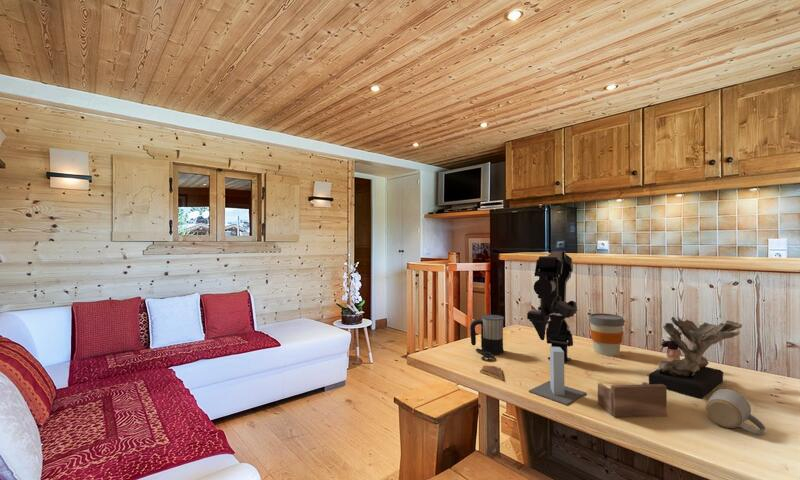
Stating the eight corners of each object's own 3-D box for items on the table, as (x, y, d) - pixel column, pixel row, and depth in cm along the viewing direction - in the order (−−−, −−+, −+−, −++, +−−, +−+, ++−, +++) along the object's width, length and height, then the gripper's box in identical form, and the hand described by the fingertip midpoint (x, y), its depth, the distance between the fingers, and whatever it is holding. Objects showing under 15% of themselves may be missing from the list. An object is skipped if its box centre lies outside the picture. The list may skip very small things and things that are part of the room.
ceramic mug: (703, 422, 93) (704, 392, 92) (712, 412, 98) (712, 384, 97) (762, 441, 84) (762, 408, 84) (768, 429, 89) (768, 398, 89)
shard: (503, 382, 121) (503, 377, 121) (479, 381, 122) (479, 375, 122) (501, 371, 131) (501, 366, 131) (479, 369, 133) (479, 364, 133)
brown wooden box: (597, 404, 103) (597, 376, 103) (646, 403, 104) (645, 375, 104) (614, 417, 95) (614, 387, 95) (666, 416, 96) (666, 386, 96)
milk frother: (499, 348, 158) (498, 314, 158) (514, 360, 142) (514, 322, 142) (467, 349, 156) (467, 315, 156) (479, 361, 140) (479, 323, 140)
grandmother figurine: (683, 365, 134) (683, 331, 134) (686, 368, 130) (686, 333, 130) (658, 362, 137) (658, 329, 137) (661, 365, 134) (660, 331, 134)
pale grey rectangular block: (550, 387, 114) (549, 346, 114) (560, 388, 113) (560, 347, 113) (553, 394, 109) (553, 351, 109) (564, 395, 108) (564, 351, 108)
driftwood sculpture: (677, 368, 131) (677, 308, 131) (754, 386, 114) (753, 318, 114) (646, 384, 117) (645, 317, 117) (728, 408, 100) (727, 330, 100)
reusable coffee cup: (626, 351, 150) (626, 315, 150) (621, 359, 141) (620, 321, 141) (593, 346, 159) (593, 312, 159) (585, 353, 149) (585, 316, 149)
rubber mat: (549, 382, 120) (549, 380, 120) (586, 393, 110) (586, 392, 110) (528, 391, 112) (528, 390, 112) (566, 405, 103) (566, 404, 103)
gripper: (557, 298, 114) (558, 348, 114) (585, 292, 125) (585, 337, 125) (525, 294, 122) (526, 340, 122) (554, 289, 134) (554, 331, 134)
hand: (549, 337), depth 126 cm, fingers open, 9 cm apart
